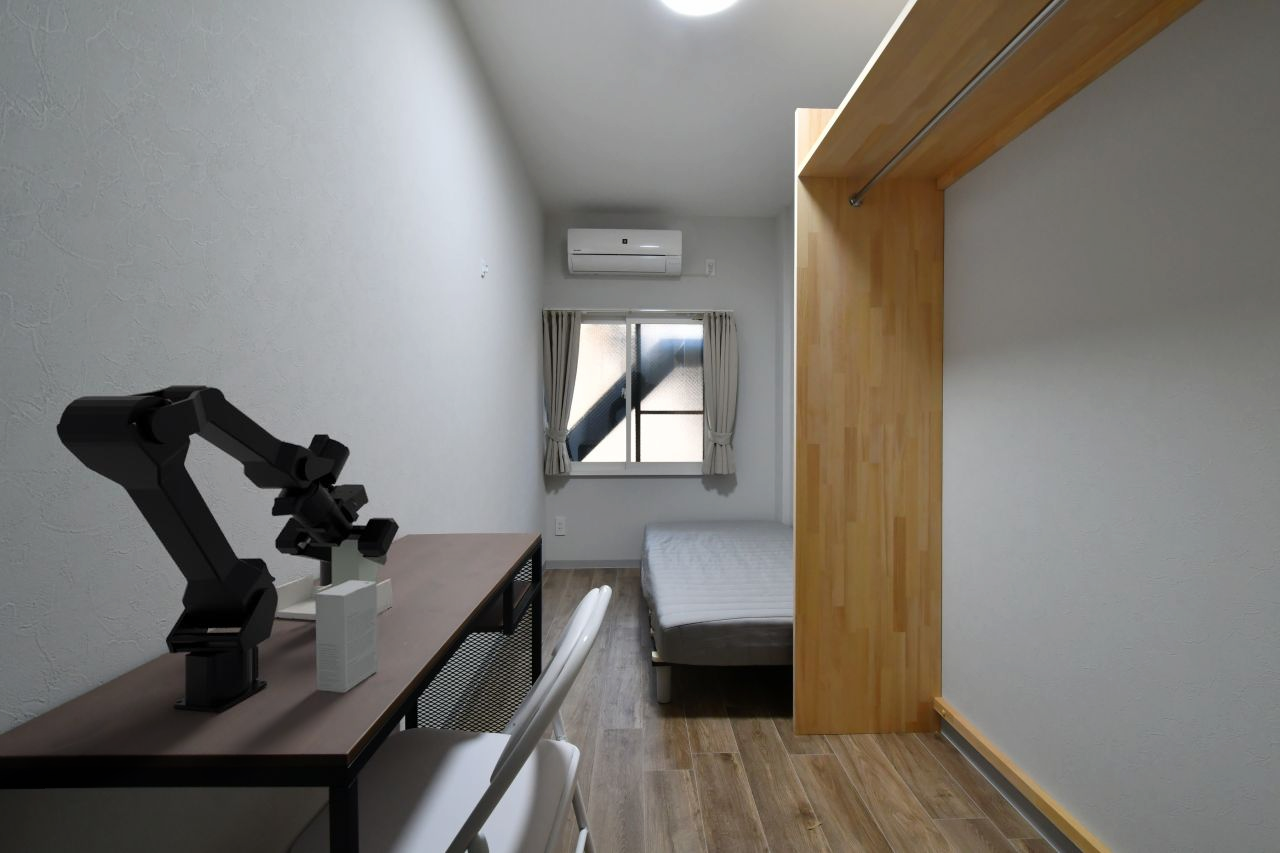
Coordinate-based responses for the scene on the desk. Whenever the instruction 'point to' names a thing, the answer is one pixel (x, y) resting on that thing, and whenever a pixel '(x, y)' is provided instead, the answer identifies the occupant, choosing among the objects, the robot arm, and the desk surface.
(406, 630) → the desk surface
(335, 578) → the sage ceramic block
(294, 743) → the desk surface
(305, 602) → the tray
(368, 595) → the skincare box
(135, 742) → the desk surface
